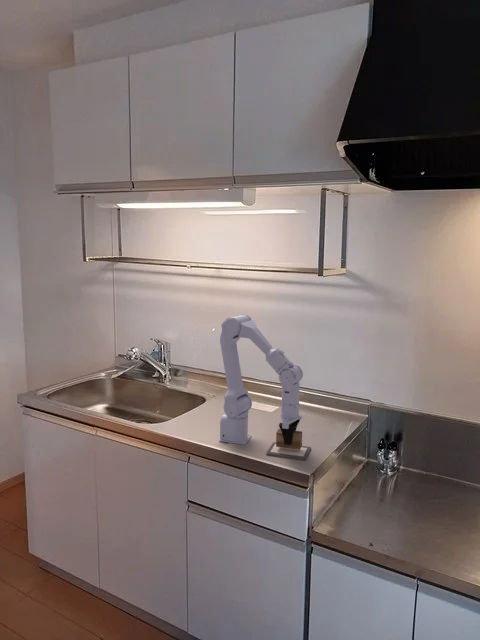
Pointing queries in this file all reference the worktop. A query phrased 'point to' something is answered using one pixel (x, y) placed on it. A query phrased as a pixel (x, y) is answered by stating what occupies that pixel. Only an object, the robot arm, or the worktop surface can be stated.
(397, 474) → the worktop surface
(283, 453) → the mat
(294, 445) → the block
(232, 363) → the robot arm
